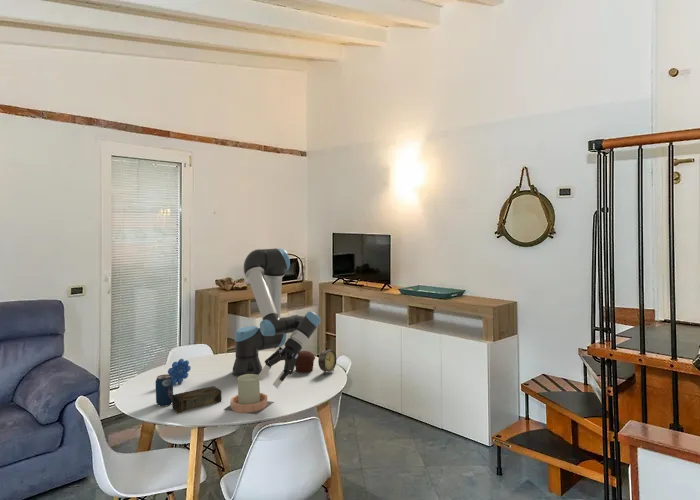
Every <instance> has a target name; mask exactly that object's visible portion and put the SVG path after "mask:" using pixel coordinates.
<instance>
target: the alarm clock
mask: <svg viewBox="0 0 700 500" xmlns="http://www.w3.org/2000/svg"><path fill="white" fill-rule="evenodd" d="M326 344H329V342H328V341H326V342H325V343H324V345H326ZM328 347H329V345H327V346H324V348H325V349H324V350H323V349H322V351H321V352H320V354H319V356H318V361H317V362H318V366H319V369H320V370H321V371H323V376H325V375H326V372H329V373H331V372H332V371H335V368H336V366H337V365H336V364H337V354H336V352H335V351H334V350H333V349H328Z"/></svg>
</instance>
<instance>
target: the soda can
mask: <svg viewBox="0 0 700 500" xmlns="http://www.w3.org/2000/svg"><path fill="white" fill-rule="evenodd" d="M172 395H174V385H173V379H172V377H171V375H169V374H168V373H167V374H160V375H157V376H156V379H155V403H156V405H160V406H159V407H167V406H166V405H168V406H170V405H172V404H171V403H172Z"/></svg>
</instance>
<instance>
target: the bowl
mask: <svg viewBox="0 0 700 500" xmlns="http://www.w3.org/2000/svg"><path fill="white" fill-rule="evenodd" d="M267 401H268V395H266V394H265V393H264V392H260V402H259V403H255V404H248V405H242V404H238V394H236V395H235V396H232V397H231V398H230V401H229V402H230V404H229V406H230V407H231V409H232V410H233V411H232V412H235V413H240V414H241V413H242V414H250V412H256V411H259V410H262V409H264V408H265V407H266V406H267ZM264 410H265V409H264Z"/></svg>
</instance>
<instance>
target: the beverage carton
mask: <svg viewBox="0 0 700 500" xmlns="http://www.w3.org/2000/svg"><path fill="white" fill-rule="evenodd" d="M221 402H222V390H221V389H220V388H218V387H217V386H216V385H211V386H209V387H203V388H197V389H193V390H188V391H184V392H180V393H175V394H173V395H172V404H171V405H172V409H173V411H174V412H176V414H178V413H180V414H182V413H183V412H187V411H191V410H195V409H198V408H199V409H200V408H202V407H206V406H210V405H214V404H217V403H221Z"/></svg>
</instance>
